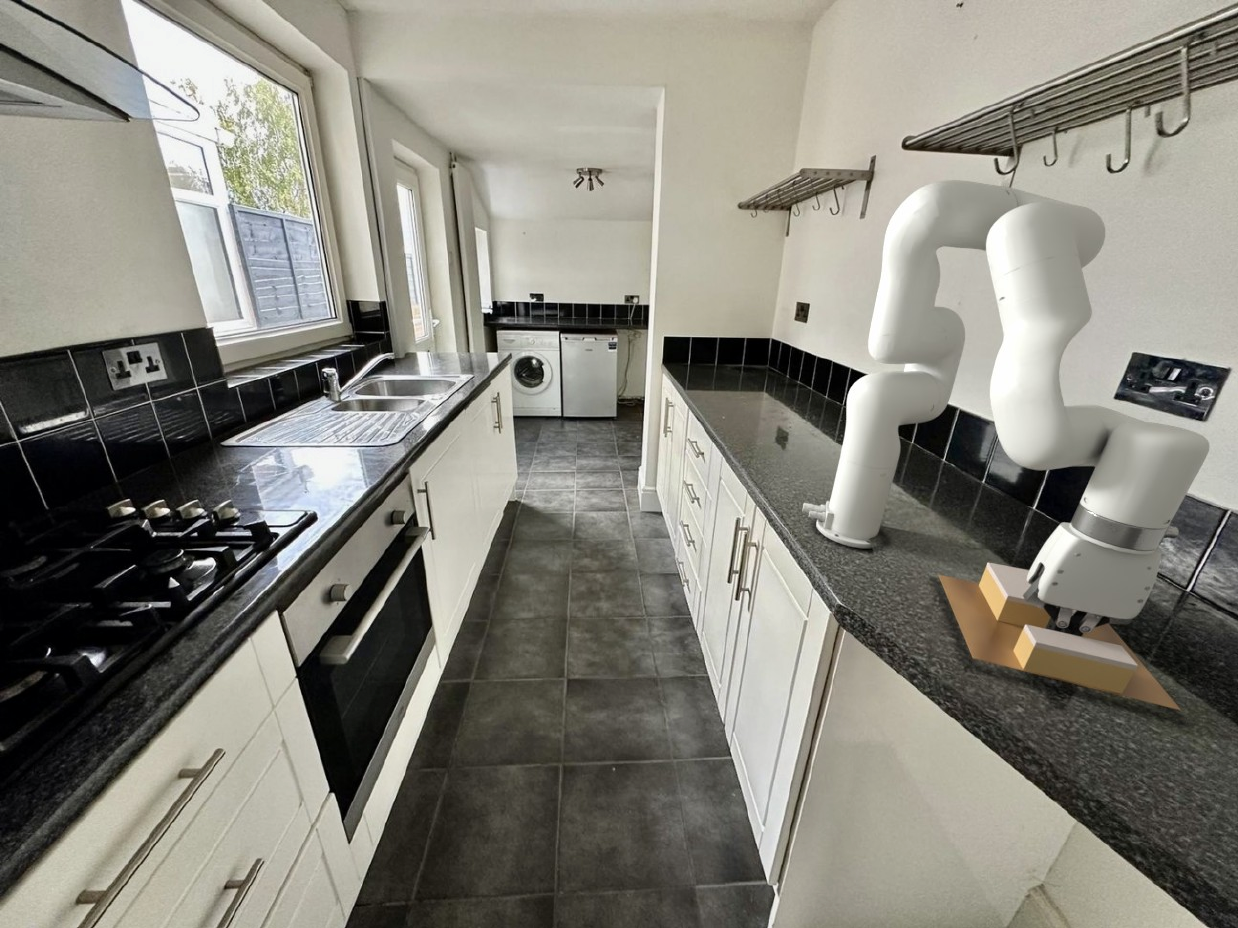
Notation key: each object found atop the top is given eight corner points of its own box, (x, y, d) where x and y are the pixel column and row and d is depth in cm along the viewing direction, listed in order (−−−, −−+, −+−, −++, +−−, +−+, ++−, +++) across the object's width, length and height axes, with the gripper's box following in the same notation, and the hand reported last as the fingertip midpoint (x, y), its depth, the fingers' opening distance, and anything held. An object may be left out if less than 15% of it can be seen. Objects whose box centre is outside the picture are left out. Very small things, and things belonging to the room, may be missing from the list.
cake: (997, 620, 70) (1007, 595, 68) (978, 585, 78) (987, 561, 76) (1082, 640, 67) (1095, 614, 65) (1053, 601, 74) (1065, 577, 73)
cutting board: (969, 666, 63) (973, 658, 63) (935, 581, 81) (938, 574, 80) (1175, 719, 57) (1182, 710, 56) (1090, 614, 74) (1094, 606, 74)
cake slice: (1023, 669, 61) (1036, 641, 59) (1012, 650, 64) (1025, 623, 62) (1122, 694, 58) (1138, 665, 56) (1106, 672, 61) (1121, 645, 59)
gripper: (1176, 525, 58) (1110, 644, 65) (1027, 501, 62) (980, 615, 69) (1222, 557, 51) (1144, 686, 58) (1052, 528, 56) (998, 650, 63)
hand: (1055, 647), depth 64 cm, fingers closed
